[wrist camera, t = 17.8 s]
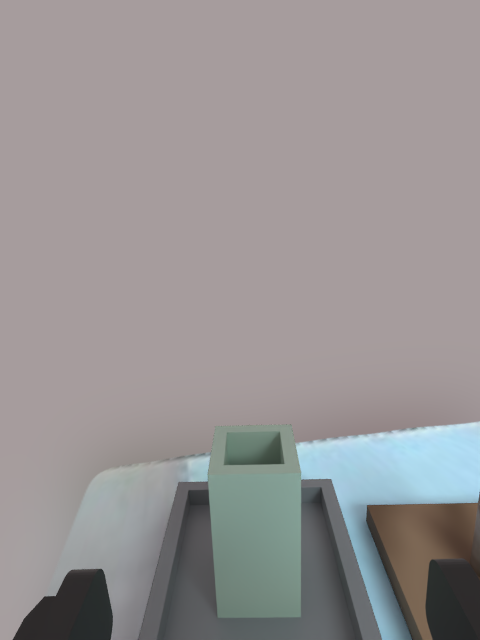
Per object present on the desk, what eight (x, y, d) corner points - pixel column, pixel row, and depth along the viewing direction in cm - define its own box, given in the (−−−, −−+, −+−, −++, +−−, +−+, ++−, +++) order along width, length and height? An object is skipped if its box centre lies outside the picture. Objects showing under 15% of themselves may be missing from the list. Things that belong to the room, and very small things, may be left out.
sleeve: (292, 548, 28) (291, 424, 26) (300, 617, 23) (300, 473, 21) (222, 549, 28) (215, 426, 26) (217, 617, 23) (207, 474, 21)
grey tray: (330, 503, 34) (330, 478, 33) (400, 748, 18) (404, 710, 18) (180, 506, 34) (178, 482, 33) (125, 749, 19) (119, 712, 18)
